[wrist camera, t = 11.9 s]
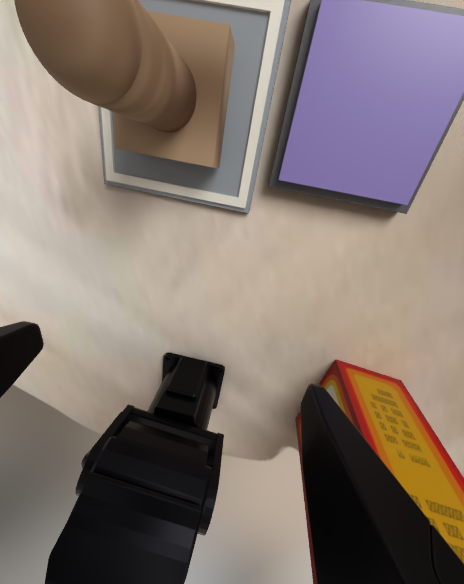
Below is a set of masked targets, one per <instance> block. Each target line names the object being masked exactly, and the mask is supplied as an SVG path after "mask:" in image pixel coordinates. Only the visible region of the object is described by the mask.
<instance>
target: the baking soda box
mask: <svg viewBox="0 0 464 584" xmlns="http://www.w3.org/2000/svg"><path fill="white" fill-rule="evenodd" d="M319 386H323V387H324V388H325V389H326V390H327V391H328V393H329V394H330V395H331V397H332V398H333V399H334V400H335V402H336V403H337V404H338V405H339V407H340V408H341V409H342V410H343V412H344V413H345V414H346V416H347V417H348V418H349V419H350V421H351V422H352V423H353V424H354V426H355V427H356V428H357V429H358V431H359V432H360V433H361V434H362V436H363V437H364V438H365V440H366V441H367V442H368V443H369V445H370V446H371V447H372V448H373V450H374V451H375V452H376V453H377V455H378V456H379V457H380V458H381V460H382V461H383V462H384V464H385V465H386V466H387V467H388V469H389V470H390V471H391V472H392V474H393V475H394V476H395V477H396V479H397V480H398V481H399V482H400V484H401V485H402V486H403V488H404V489H405V490H406V491H407V493H408V494H409V495H410V496H411V498H412V499H413V500H414V501H415V503H416V504H417V505H418V507H419V508H420V509H421V510H422V512H423V513H424V514H425V515H426V517H427V518H428V519H429V521H430V525H433V526H434V527H435V528H436V529H437V530H438V532H439V533H440V534H441V535H442V537H443V538H444V539H445V540H446V542H447V543H448V544H449V545H450V547H451V548H452V549H453V550H454V552H455V553H456V554H457V555H458V557H459V558H460V559H461V560H462V562H463V563H464V478H463V476H462V475H461V473H460V472H459V470H458V468H457V467H456V465H455V464H454V462H453V461H452V459H451V457H450V456H449V454H448V453H447V451H446V450H445V448H444V447H443V445H442V443H441V442H440V440H439V439H438V437H437V436H436V434H435V432H434V431H433V429H432V428H431V426H430V425H429V423H428V422H427V420H426V418H425V417H424V415H423V414H422V412H421V411H420V409H419V408H418V406H417V404H416V403H415V401H414V400H413V398H412V397H411V395H410V393H409V392H408V390H407V389H406V387H405V386H404V384H403V383H402V381H401V380H398V379H395V378H392V377H389V376H385V375H382V374H379V373H376V372H373V371H370V370H367V369H364V368H361V367H358V366H355V365H352V364H348V363H345V362H342V361H339V360H335V361H334V363H333V364H332V366H331V367H330V369H329V370H328V372H327V373H326V375H325V376H324V378H323V379H322V380H321V382H320V383H319ZM296 427H297V436H298V446H299V455H300V464H301V473H302V482H303V492H304V501H305V510H306V519H307V529H308V538H309V548H310V557H311V566H312V574H313V584H317V578H316V570H315V562H314V554H313V546H312V538H311V530H310V522H309V514H308V506H307V498H306V491H305V483H304V475H303V465H302V443H301V411H300V413H299V414H298V416H297V417H296Z"/></svg>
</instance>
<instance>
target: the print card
mask: <svg viewBox="0 0 464 584" xmlns="http://www.w3.org/2000/svg"><path fill="white" fill-rule="evenodd" d="M139 2H140V3H141V4H142V6H143V7H144V8H145V10H146V11H151V12H157V13H163V14H169V15H175V16H182V17H188V18H194V19H200V20H206V21H212V22H218V23H224V24H230V28H231V31H232V35H233V39H234V43H235V50H234V58H233V66H232V74H231V81H230V89H229V97H228V105H227V113H226V120H225V128H224V136H223V144H222V152H221V159H220V167H219V168H213V167H208V166H203V165H198V164H192V163H187V162H182V161H177V160H172V159H167V158H161V157H156V156H151V155H146V154H141V153H136V152H130V151H125V150H120V149H115V130H114V112H112V111H110V110H107V109H105V108H102V107H100V106H99V118H100V132H101V145H102V158H103V172H104V184H108V185H113V186H118V187H123V188H128V189H133V190H138V191H143V192H148V193H152V194H157V195H162V196H167V197H172V198H177V199H182V200H187V201H191V202H196V203H201V204H206V205H211V206H216V207H221V208H226V209H230V210H235V211H240V212H245V213H249V210H250V205H251V200H252V195H253V190H254V185H255V180H256V175H257V170H258V164H259V159H260V154H261V149H262V144H263V139H264V134H265V129H266V124H267V119H268V114H269V109H270V104H271V99H272V94H273V89H274V84H275V79H276V74H277V69H278V64H279V59H280V54H281V49H282V44H283V39H284V34H285V29H286V24H287V19H288V14H289V8H290V3H291V0H139Z"/></svg>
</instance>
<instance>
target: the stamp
mask: <svg viewBox="0 0 464 584" xmlns="http://www.w3.org/2000/svg"><path fill="white" fill-rule="evenodd" d="M14 1H15V6H16V11H17V15H18V18H19V21H20V25H21V27H22V30H23V32H24V35H25V37H26V39H27V41H28V43H29V45H30V47H31V48H32V50H33V52H34V54H35V55H36V57H37V58H38V60H39V61H40V62H41V64H42V65H43V66H44V68H45V69H46V70H47V71H48V73H49V74H50V75H51V76H52V77H53V78H54V79H55V80H56V81H57V82H58V83H59V84H60V85H62V86H63V87H64V88H65V89H67V90H68V91H69V92H71V93H72V94H74V95H76V96H77V97H79V98H81V99H83V100H85V101H88V102H90V103H93V104H95V105H97V106H100V107H102V108H105V109H107V110H110V111H112V112H114V130H115V149H120V150H125V151H130V152H136V153H141V154H146V155H151V156H156V157H161V158H167V159H172V160H177V161H182V162H187V163H192V164H198V165H203V166H208V167H213V168H219V167H220V159H221V152H222V144H223V136H224V128H225V120H226V113H227V105H228V97H229V89H230V81H231V74H232V66H233V58H234V50H235V43H234V39H233V35H232V31H231V28H230V24H224V23H218V22H212V21H206V20H200V19H194V18H188V17H182V16H175V15H169V14H163V13H157V12H151V11H146V10H145V8H144V7H143V6H142V4H141V3H140V2H139V0H14Z"/></svg>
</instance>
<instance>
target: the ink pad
mask: <svg viewBox="0 0 464 584" xmlns="http://www.w3.org/2000/svg"><path fill="white" fill-rule="evenodd" d="M463 100H464V9H460V8H454V7H448V6H441V5H435V4H428V3H422V2H416V1H409V0H311V1H310V5H309V10H308V14H307V19H306V23H305V28H304V32H303V36H302V41H301V45H300V50H299V54H298V59H297V63H296V68H295V72H294V76H293V81H292V85H291V90H290V94H289V99H288V103H287V107H286V112H285V116H284V121H283V125H282V130H281V134H280V139H279V143H278V147H277V152H276V156H275V161H274V165H273V170H272V174H271V178H270V183H269V187H274V188H279V189H284V190H289V191H294V192H299V193H304V194H309V195H314V196H319V197H324V198H329V199H334V200H339V201H344V202H349V203H354V204H359V205H364V206H369V207H375V208H380V209H385V210H390V211H395V212H400V213H405V214H407V212H408V210H409V208H410V206H411V204H412V202H413V200H414V198H415V196H416V194H417V192H418V190H419V188H420V186H421V184H422V182H423V180H424V178H425V176H426V174H427V172H428V170H429V168H430V166H431V164H432V162H433V160H434V158H435V156H436V154H437V152H438V150H439V148H440V146H441V144H442V142H443V140H444V138H445V136H446V134H447V132H448V130H449V128H450V126H451V124H452V122H453V120H454V118H455V116H456V114H457V112H458V110H459V108H460V106H461V104H462V102H463Z"/></svg>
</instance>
